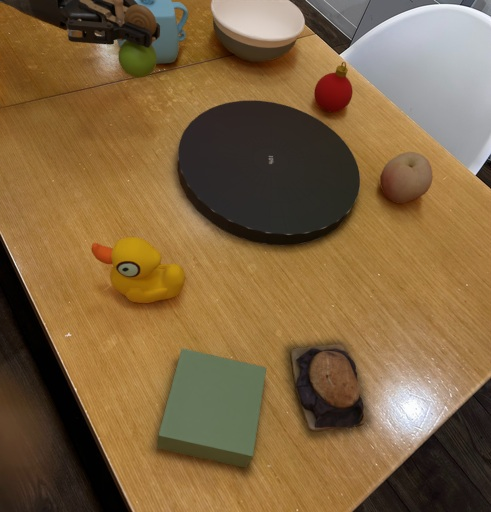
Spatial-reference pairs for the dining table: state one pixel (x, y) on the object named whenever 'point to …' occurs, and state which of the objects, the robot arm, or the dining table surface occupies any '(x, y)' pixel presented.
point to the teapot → (166, 28)
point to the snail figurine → (130, 54)
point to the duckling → (140, 270)
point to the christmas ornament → (334, 90)
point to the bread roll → (327, 387)
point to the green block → (213, 408)
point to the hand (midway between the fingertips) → (154, 36)
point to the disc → (267, 172)
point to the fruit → (406, 177)
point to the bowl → (257, 27)
